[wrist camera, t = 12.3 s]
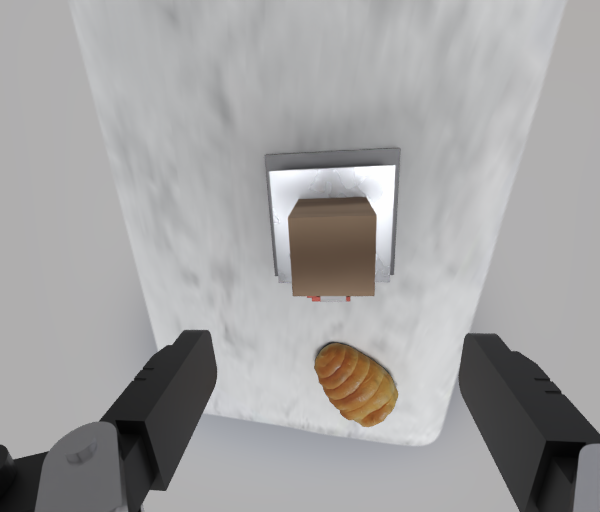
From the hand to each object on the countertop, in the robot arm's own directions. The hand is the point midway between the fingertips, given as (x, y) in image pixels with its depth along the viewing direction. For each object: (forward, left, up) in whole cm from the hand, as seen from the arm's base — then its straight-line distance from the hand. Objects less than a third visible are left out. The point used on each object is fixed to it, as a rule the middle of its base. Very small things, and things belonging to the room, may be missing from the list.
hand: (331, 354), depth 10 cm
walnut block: (0, 0, -15) cm, 15 cm away
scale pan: (+1, 0, -17) cm, 17 cm away
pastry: (+18, +2, -20) cm, 27 cm away
